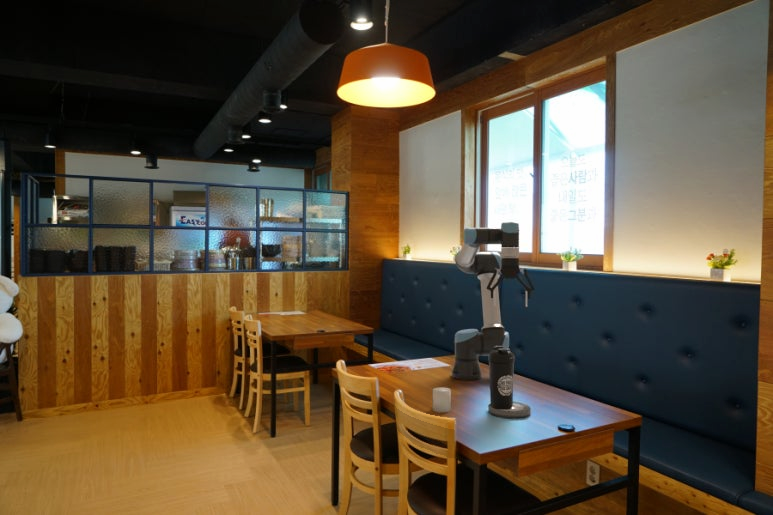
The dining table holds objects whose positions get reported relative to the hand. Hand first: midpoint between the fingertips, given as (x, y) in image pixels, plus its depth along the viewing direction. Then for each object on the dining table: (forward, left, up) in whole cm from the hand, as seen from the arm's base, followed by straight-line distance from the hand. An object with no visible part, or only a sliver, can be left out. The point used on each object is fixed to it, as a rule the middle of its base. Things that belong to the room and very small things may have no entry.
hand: (510, 306), depth 225 cm
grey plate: (+25, 0, -39) cm, 46 cm away
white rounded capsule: (+28, -26, -39) cm, 54 cm away
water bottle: (+25, -3, -37) cm, 45 cm away
